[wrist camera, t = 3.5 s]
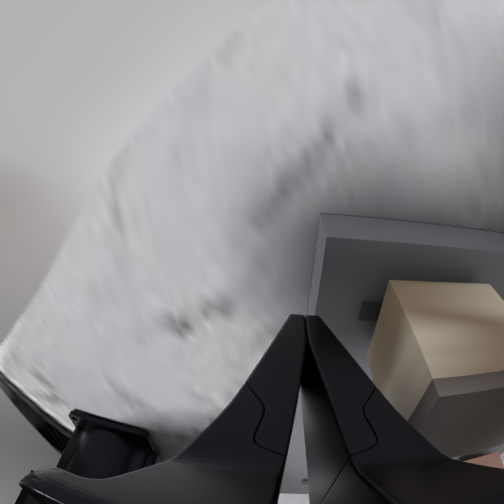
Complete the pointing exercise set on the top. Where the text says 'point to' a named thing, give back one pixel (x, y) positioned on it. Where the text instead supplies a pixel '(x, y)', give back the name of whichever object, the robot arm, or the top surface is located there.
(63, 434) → the top surface
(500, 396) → the block
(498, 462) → the block
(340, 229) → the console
